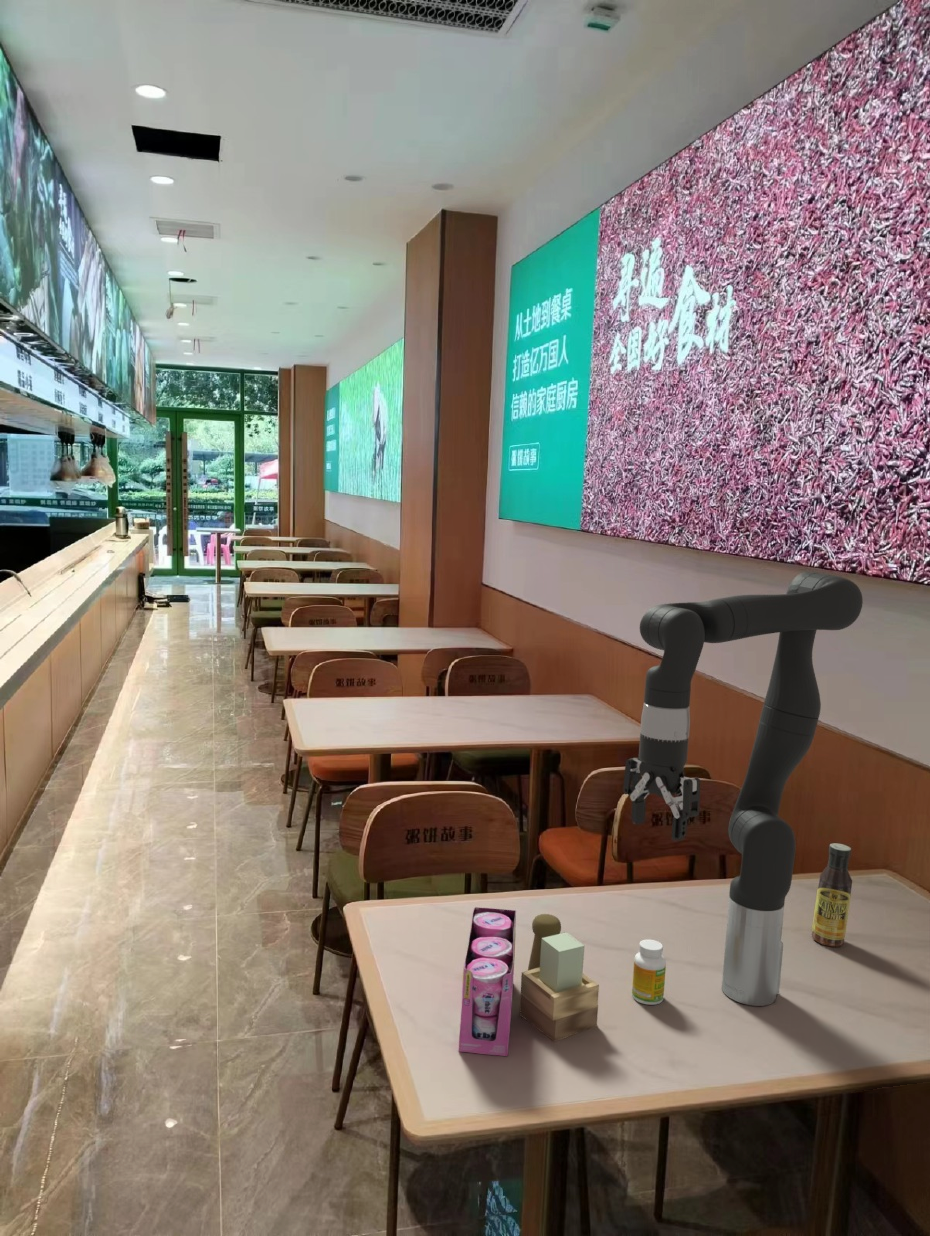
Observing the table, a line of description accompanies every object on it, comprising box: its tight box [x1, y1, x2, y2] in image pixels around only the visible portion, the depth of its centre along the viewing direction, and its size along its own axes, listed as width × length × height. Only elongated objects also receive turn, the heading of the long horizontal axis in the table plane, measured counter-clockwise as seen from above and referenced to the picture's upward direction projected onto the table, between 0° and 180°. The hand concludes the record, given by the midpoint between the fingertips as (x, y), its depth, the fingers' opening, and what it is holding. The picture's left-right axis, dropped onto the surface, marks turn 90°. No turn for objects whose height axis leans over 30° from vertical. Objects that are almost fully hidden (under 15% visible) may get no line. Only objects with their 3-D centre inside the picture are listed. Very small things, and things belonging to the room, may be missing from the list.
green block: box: [539, 932, 585, 993], centre depth 149 cm, size 5×5×7 cm
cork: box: [527, 913, 562, 971], centre depth 164 cm, size 6×6×11 cm
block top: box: [520, 967, 600, 1021], centre depth 149 cm, size 9×9×4 cm
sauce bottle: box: [811, 842, 853, 948], centre depth 182 cm, size 7×6×20 cm
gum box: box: [458, 906, 517, 1057], centre depth 149 cm, size 24×8×14 cm, turn 175°
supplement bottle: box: [631, 939, 667, 1006], centre depth 158 cm, size 5×5×10 cm
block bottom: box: [519, 994, 599, 1042], centre depth 150 cm, size 9×9×4 cm
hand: (657, 831), depth 146 cm, fingers open, 8 cm apart
